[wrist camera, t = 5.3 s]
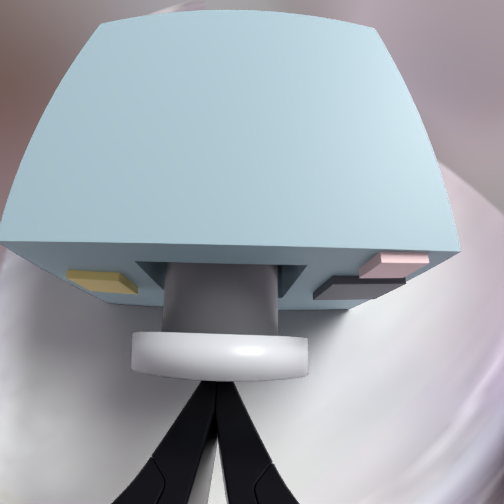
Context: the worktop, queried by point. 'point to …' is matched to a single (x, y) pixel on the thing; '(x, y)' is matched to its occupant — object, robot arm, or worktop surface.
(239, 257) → the socket block
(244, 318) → the plug
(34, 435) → the worktop surface
